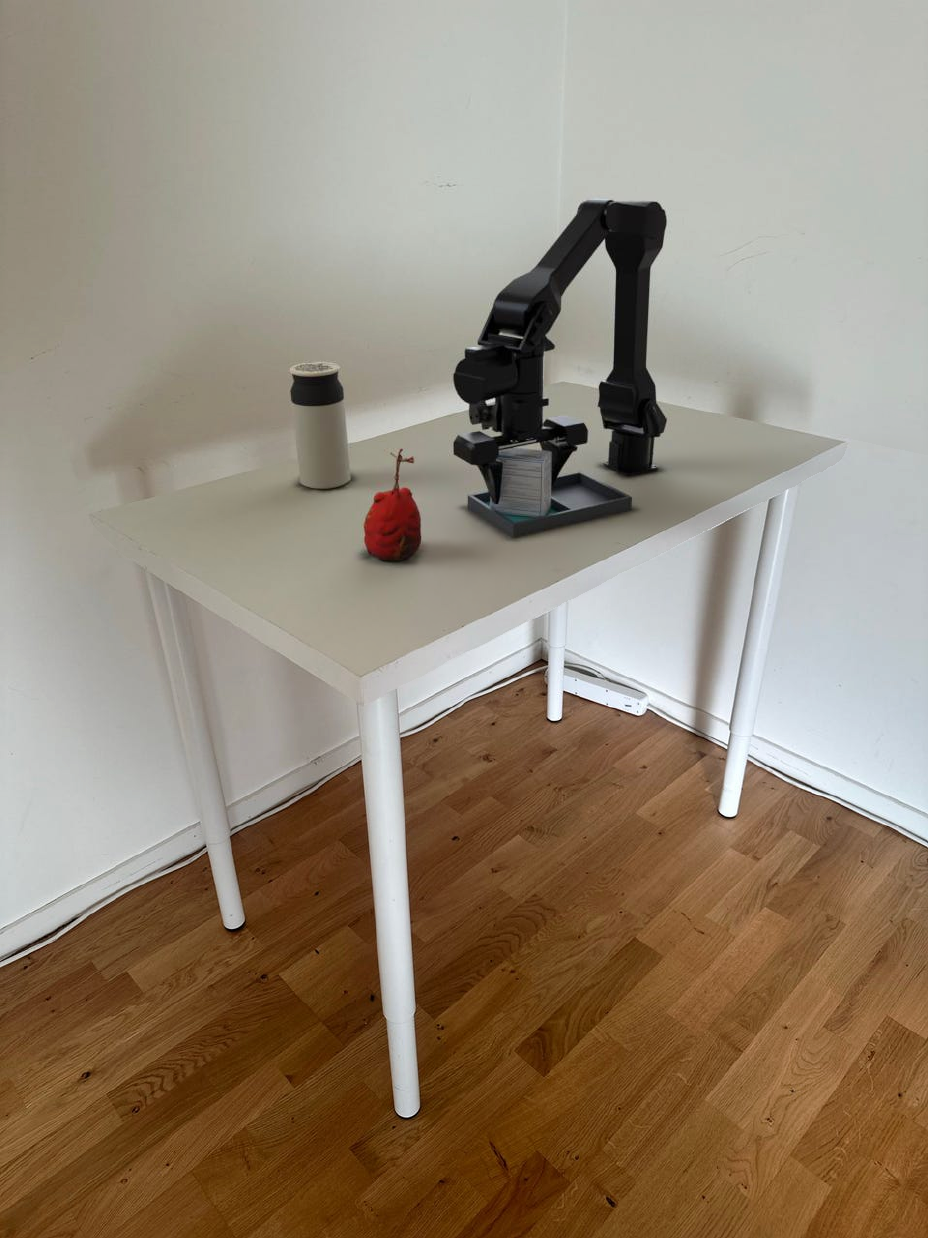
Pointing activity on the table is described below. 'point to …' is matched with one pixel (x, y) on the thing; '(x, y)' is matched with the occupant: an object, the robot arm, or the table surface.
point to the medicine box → (525, 482)
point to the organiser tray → (558, 505)
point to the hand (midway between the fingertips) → (521, 497)
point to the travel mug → (320, 425)
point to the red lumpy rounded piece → (393, 522)
